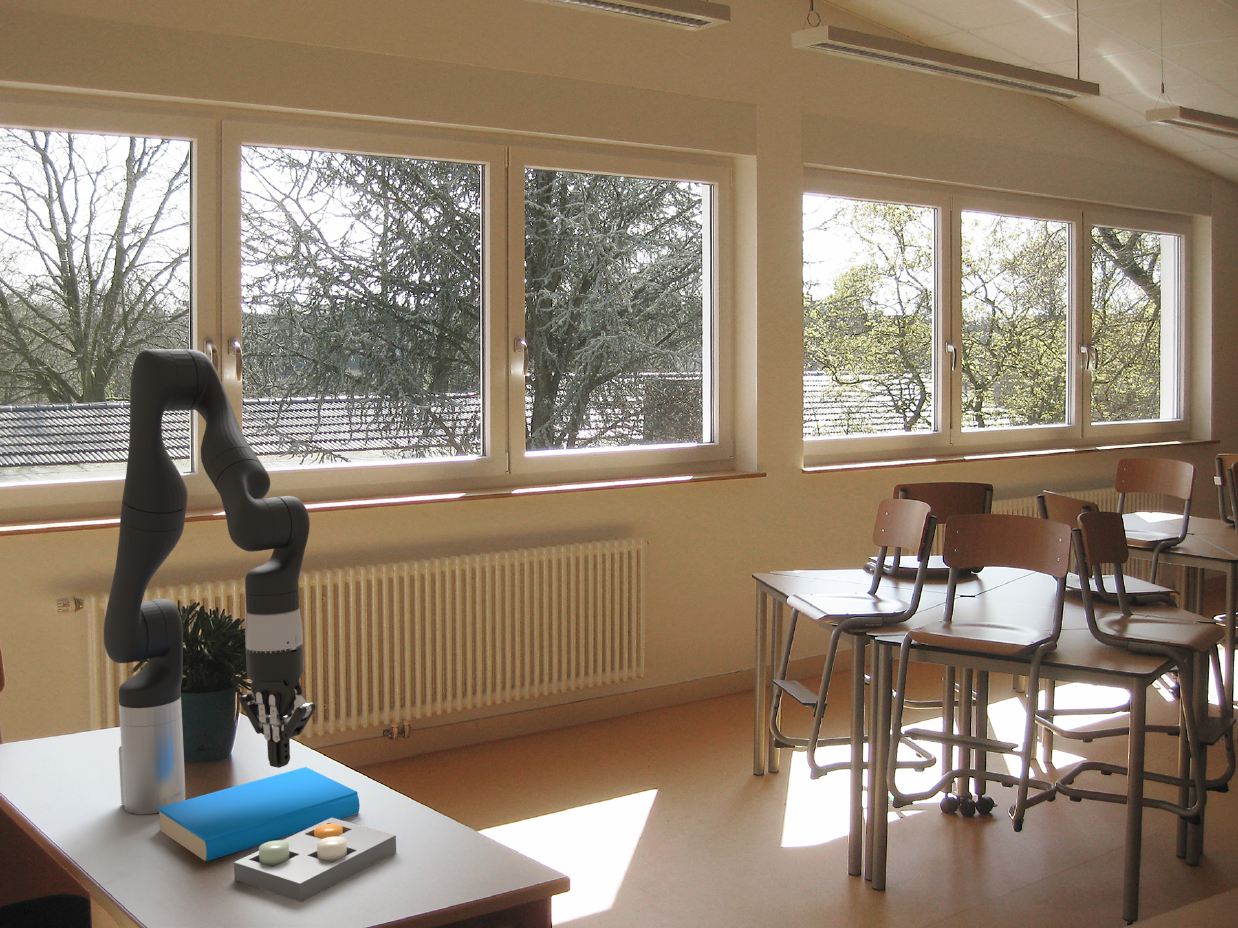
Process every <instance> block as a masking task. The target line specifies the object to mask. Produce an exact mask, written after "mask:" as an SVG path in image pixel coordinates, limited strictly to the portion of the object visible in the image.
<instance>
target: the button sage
mask: <svg viewBox="0 0 1238 928" xmlns="http://www.w3.org/2000/svg"><path fill="white" fill-rule="evenodd" d="M281 840H282V839H280V840H278V839H276V840H273V841H269V842H266V843H263V844H260V845H259V847H258V851H259V863H261V864H264V865H267V866H271V867H274V866H276V865H278V864H280V863H282V862H284V861H287V860H289V859H290V857H289V843H288V842H286V841H281Z"/></svg>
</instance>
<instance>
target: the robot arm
mask: <svg viewBox="0 0 1238 928" xmlns="http://www.w3.org/2000/svg"><path fill="white" fill-rule="evenodd" d="M130 377H131V378H130V393H129V395H130V396H129V397H130V398H129V440H128V441H129V442H128V455H127V463H126V471H125V481H124V487H123V493H122V500H121V501H122V502H121V511H120V518H119V520H120V522H119V533H118V535H119V536H118V542H117V543H118V545H117V554H116V562H115V567H114V568H115V569H114V573H113V577H112V578H113V579H112V583H111V588H110V593H109V597H108V602H107V605H106V610H105V611H106V613H105V615H104V616H105V617H104V624H103V643H104V647H105V648H104V649H105V651H106V654H107V656H108V658H109V659H110V660H111V661H112V662H114V663H117V664H128V663H137V662H139V661H145V660H148V661H147V663H146V664H145V665H144V667H143V668H141V670H140V671H138V672H137V673H136V674H135V675H133V676H132V677H130V678H128V679H127V680H125V681H123V683H121V685H120V686H119V687H118V709H119V726H120V743H121V744H120V746H119V747H118V761H119V762H118V763H119V783H120V784H119V785H120V802H121V803H120V804H121V805H123V806H124V808H123V809H124V810H125V811H126V812H128V813H131V814H135V815H149V814H159V812H160V811H158V808H159V807H162V806H166V805H170V804H173V803H177V802H181V801H184V800H187V799H186V782H185V781H186V779H185V776H186V775H185V773H186V772H185V756H184V755H185V754H184V736H183V735H184V734H183V733H184V732H183V716H182V715H183V714H182V713H183V711H182V694H181V693H182V692H181V691H182V690H181V688H182V682H183V676H184V675H183V673H184V672H183V665H184V664H183V658H184V657H183V656H184V655H183V654H184V652H183V650H184V647H183V645H184V636H183V635H184V633H183V632H184V630H183V620H182V617H181V613H180V610H179V608H178V606H177V605H176V604H175V602H174V601H173V600H172V599H169V598H157V599H151V600H144V596H145V592H146V589H147V587H148V585H149V583H150V582H151V580H152V578H153V577H154V575H155V573H156V572H158V569H159V568H160V567H161V566H162V564H163V563H164V562H165V561H166V559H167V558H168V557H169V556H170V555H171V553H172V551H173V550H174V548H175V547H176V546H177V544H178V543H179V541H180V539H181V537H182V535H183V532H184V528H185V522H186V521H185V520H186V513H187V505H188V490H187V489H188V488H187V486H186V484H185V481H184V479H183V477H182V474H181V473H180V472H179V470H178V468H177V466H176V464H175V463H174V461H173V460H172V458H171V457H170V454H169V452H168V451H167V448H166V446H165V443H164V439H163V429H162V428H163V425H162V424H163V415H164V412H182V411H184V412H185V411H187V412H188V411H194V410H195V411H196V412H197V413H198V414H199V415H200V416H201V417H202V418H203V420H204V421H205V429H204V433H203V437H202V441H201V445H200V459H201V460H200V461H201V463H202V467H203V469H204V471H205V473H206V476H207V477H208V478H209V480H210V482H211V483H212V485H213V486H214V487H215V489H216V491H217V493H218V494H219V495H220V498H221V499H220V500H221V503H222V506H223V507H222V508H223V510H224V515H225V518H226V523H227V524H226V525H227V531H228V534H229V535H228V536H229V537H230V539H231V541H232V542H233V544H234V545H235V546H236V547H238V548H239V549H240V550H243V551H245V552H249V553H250V552H251V553H253V552H261V551H266V550H267V551H268V550H269V551H270V550H273V551H272V554H271V556H270V558H269V560H268V561H266V562H265V563H264V564H262V565H259V566H257V567H254V568H252V569H250V570H249V571H248V572H247V573H246V575H245V579H244V589H245V590H244V592H245V594H244V595H245V616H246V617H245V624H244V637H245V640H244V641H245V655H246V656H245V657H246V658H245V659H246V675H247V678H248V679H249V680H250V681H252V682H251V684H250V691H249V692H248V693H246V694H243V695H240V696H239V704H240V705H241V708H243V710H244V712H245V714H246V716H247V718H248V721H249V722H250V724H251V725H252V727H253V730H254V731H255V733H257V735H259V734H262V735H263V737H264V738H265V740H266V742H267V743H266V745H267V759H268V761H269V766H270V767H274V768H278V769H280V768H282V767H284V766H285V767H286V766H287V765H289V762H290V759H291V748H290V747H291V745H290V743H291V742H290V739H291V738H294V737H296V736H299V735H301V733H302V732H303V731H304V729H305V727H306V726H307V724H308V722H309V720H311V717H312V715H313V714H314V713H315V710H316V705H315V703H314V702H309V703H308V702H307V701H306V699H305V698H304V697H303V687H302V686H301V683H300V679H301V676H302V675H303V673H305V672H304V671H305V666H304V665H305V663H304V659H305V658H304V641H303V622H302V617H301V616H302V615H301V609H300V588H299V587H300V586H299V585H300V584H299V579H300V573H301V569H302V564H303V560H304V555H305V551H306V546H307V544H308V540H309V535H310V524H311V523H310V516H309V512H308V510H307V508H306V506H305V504H304V503H303V502H302V500H300V499H299V498H297V497H296V496H293V495H282V496H274V497H273V496H272V497H265V496H266V495H267V494H268V492H269V491H270V489H271V479H270V475H269V473H268V471H267V470H266V468H265V467H264V465H263V463H262V461H260V459H259V457H258V456H257V455H256V453H255V451H254V449H253V448H252V447H251V445H250V444H249V442H248V441H247V439H246V438H245V435H244V434H243V432H242V430H241V428H240V425H239V423H238V420H237V417H236V414H235V412H234V410H233V407H232V404H231V402H230V400H229V397H228V394H227V391H226V390H225V386H224V384H223V382H222V380H221V377H220V376H219V372H218V370H217V369H216V366H215V365H214V363H213V362H212V360H211V359H210V357H209V356H208V355H207V354H205V353H204V352H202V351H200V350H197V349H196V350H195V349H187V348H186V349H183V348H179V349H178V348H177V349H175V348H172V349H171V348H170V349H169V348H163V349H162V348H157V349H155V348H153V349H152V348H151V349H150V348H149V349H143V350H142V351H139V353H138V354H137V356H136V357H135V359H134V362H133V365H132V369H131V376H130ZM264 497H265V498H264Z"/></svg>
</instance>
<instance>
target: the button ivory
mask: <svg viewBox="0 0 1238 928" xmlns="http://www.w3.org/2000/svg"><path fill="white" fill-rule="evenodd" d="M345 856H347V841H346V839H345V838H343V837H327V838H324V839H322V840H320V841H318V843H317V859H320V860H323V861H327V862H330V863H333V862H335V861H337V860H339V859H341V858H343V857H345Z"/></svg>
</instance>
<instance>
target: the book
mask: <svg viewBox="0 0 1238 928" xmlns="http://www.w3.org/2000/svg"><path fill="white" fill-rule="evenodd" d="M158 811H160V812H158V814H159V831H161V832H162V833H163V834H165V835H167V836H168V837H169V838H171V839H172V840H174V841H175V842H176V843H178V844H180V845H181V846H183V847H184V848H185V849H187V850H188V851H190V852H191V853H193V854H194V855H196V856H197V857H198V858H200V859H201V860H203V861H204V862H210V861H213V860H216V859H220V858H222V857H226V856H228V855H231V854H234V853H238V852H241V851H244V850H247V849H250V848H253V847H257V846H261V845H262V844H264V843H266V842H270V841H276V840H278V839H281V838H286V837H289V836H292V835H295V834H297V833H299V832H301V831H303V830H306V829H308V828H310V827H312V826H314V825H317V824H319V823H321V822H323V821H325V820H328V819H330V818H335V819H339V820H342V819H344V818H347V817H350V816H353V815H356V814H359V812H360V799H359V794H358V791H357V790H354V789H353V788H351V787H349V786H346V785H345V784H342V783H341V782H338V781H337V780H334V779H332V778H330V777H327V776H325V775H323V774H322V773H320V772H317V771H315V770H313V769H311V768H309V767H307V766H304V767H300V768H297V769H294V770H290V771H287V772H283V773H282V772H281V773H278V774H275V775H272V776H268V777H263V778H261V779H258V780H253V781H250V782H246V783H242V784H239V785H236V786H232V787H228V788H224V789H221V790H216V791H214V792H213V791H212V792H211V793H206V794H204V795H203V794H202V795H200V796H195V797H191V798H188V799H186V800H184V801H181V802H177V803H173V804H170V805H166V806H162V807H159V808H158Z"/></svg>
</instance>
